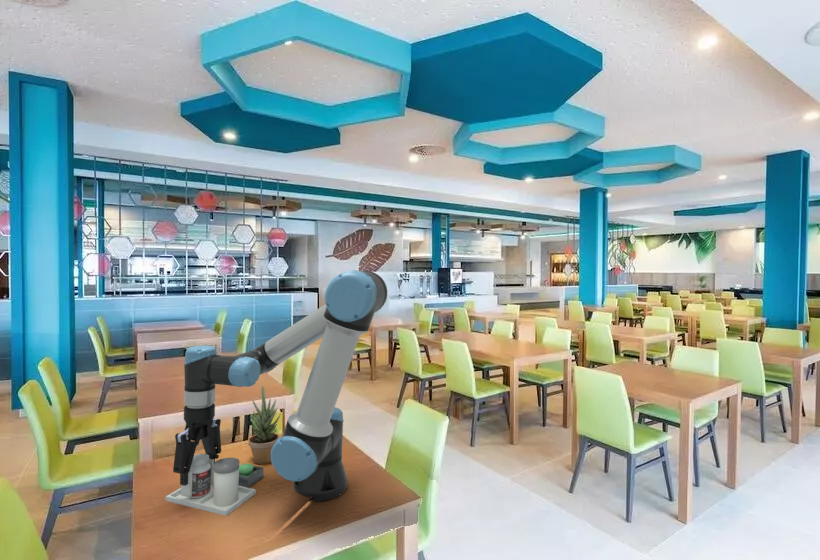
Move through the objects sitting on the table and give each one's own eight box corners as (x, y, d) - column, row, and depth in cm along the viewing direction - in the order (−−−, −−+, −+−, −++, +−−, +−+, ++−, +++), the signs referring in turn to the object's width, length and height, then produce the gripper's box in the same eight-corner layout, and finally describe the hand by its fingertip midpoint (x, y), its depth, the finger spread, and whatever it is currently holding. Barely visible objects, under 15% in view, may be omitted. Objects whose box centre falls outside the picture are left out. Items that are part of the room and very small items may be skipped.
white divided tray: (258, 497, 120) (259, 488, 120) (225, 522, 107) (225, 513, 107) (199, 483, 126) (200, 475, 126) (161, 506, 113) (161, 497, 113)
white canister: (243, 496, 117) (244, 459, 117) (227, 508, 111) (228, 469, 111) (224, 492, 119) (225, 456, 119) (207, 503, 113) (208, 465, 113)
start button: (255, 471, 128) (256, 464, 127) (246, 477, 124) (246, 470, 124) (244, 469, 129) (244, 462, 129) (235, 475, 125) (235, 468, 125)
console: (263, 480, 129) (263, 467, 128) (247, 492, 122) (247, 478, 122) (243, 476, 131) (243, 463, 131) (226, 487, 124) (227, 473, 124)
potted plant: (254, 453, 147) (256, 380, 147) (282, 454, 147) (284, 381, 146) (242, 466, 137) (244, 388, 137) (272, 467, 137) (274, 389, 136)
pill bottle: (200, 500, 114) (201, 462, 114) (181, 497, 116) (182, 460, 115) (214, 489, 120) (215, 454, 120) (196, 487, 121) (197, 451, 121)
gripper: (215, 392, 128) (213, 470, 128) (156, 413, 109) (155, 504, 109) (236, 395, 126) (234, 475, 126) (180, 417, 107) (178, 510, 107)
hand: (197, 488), depth 118 cm, fingers open, 7 cm apart
